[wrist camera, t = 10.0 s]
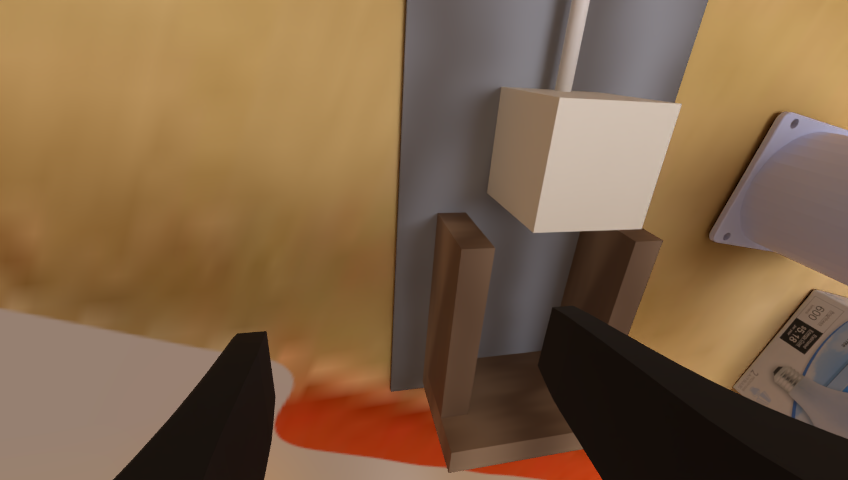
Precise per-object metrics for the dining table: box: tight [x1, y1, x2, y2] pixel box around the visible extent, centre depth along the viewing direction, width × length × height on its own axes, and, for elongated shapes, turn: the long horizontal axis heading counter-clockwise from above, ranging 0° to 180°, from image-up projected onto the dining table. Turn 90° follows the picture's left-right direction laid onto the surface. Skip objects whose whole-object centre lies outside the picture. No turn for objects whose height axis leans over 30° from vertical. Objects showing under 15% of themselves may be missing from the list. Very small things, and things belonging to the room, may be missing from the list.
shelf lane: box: [391, 0, 708, 473], centre depth 18 cm, size 14×25×6 cm, turn 176°
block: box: [487, 0, 682, 233], centre depth 14 cm, size 5×15×6 cm, turn 176°
